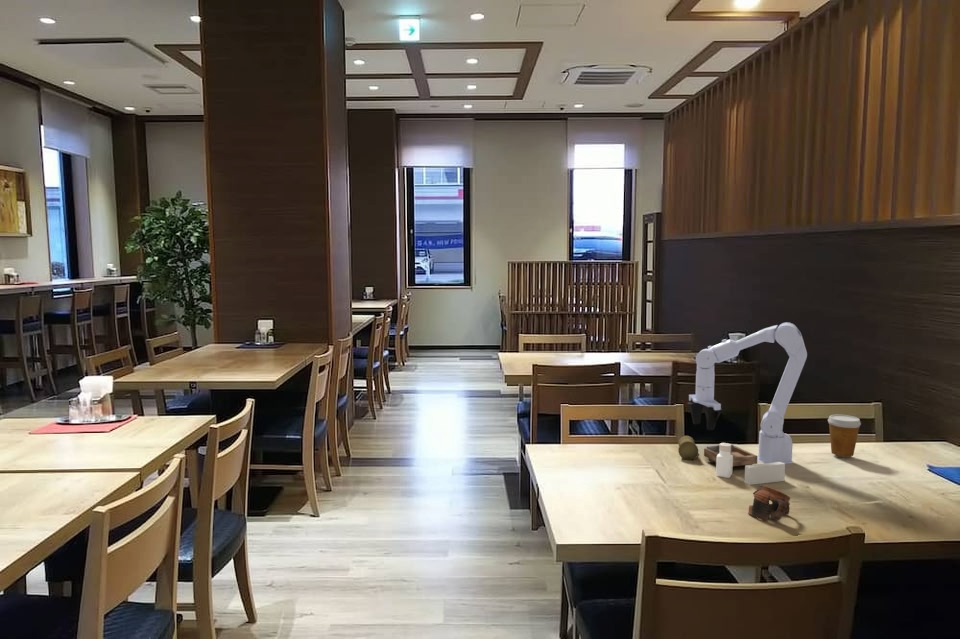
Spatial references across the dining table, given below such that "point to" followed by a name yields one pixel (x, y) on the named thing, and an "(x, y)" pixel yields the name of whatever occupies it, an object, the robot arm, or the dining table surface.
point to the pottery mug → (765, 509)
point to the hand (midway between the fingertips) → (703, 426)
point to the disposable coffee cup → (843, 434)
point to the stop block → (764, 473)
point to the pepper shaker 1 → (687, 448)
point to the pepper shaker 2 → (724, 461)
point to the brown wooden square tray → (738, 455)
